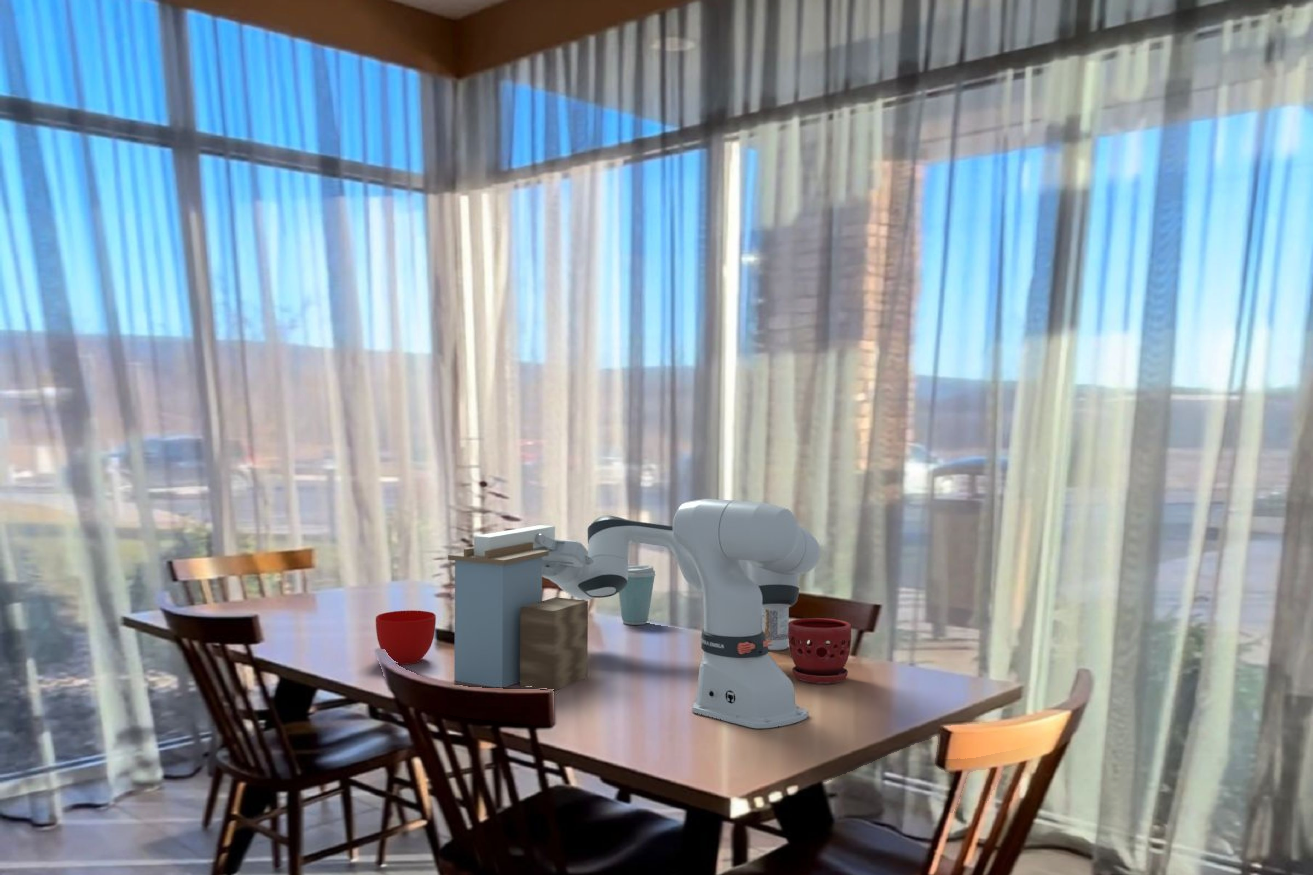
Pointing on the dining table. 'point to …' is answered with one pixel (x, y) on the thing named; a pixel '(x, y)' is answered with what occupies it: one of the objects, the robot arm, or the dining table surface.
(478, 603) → the cabinet
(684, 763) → the dining table surface
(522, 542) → the white beam
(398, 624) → the ceramic cup
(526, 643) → the walnut block
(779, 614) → the bath foam
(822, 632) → the plant pot
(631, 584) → the disposable coffee cup
